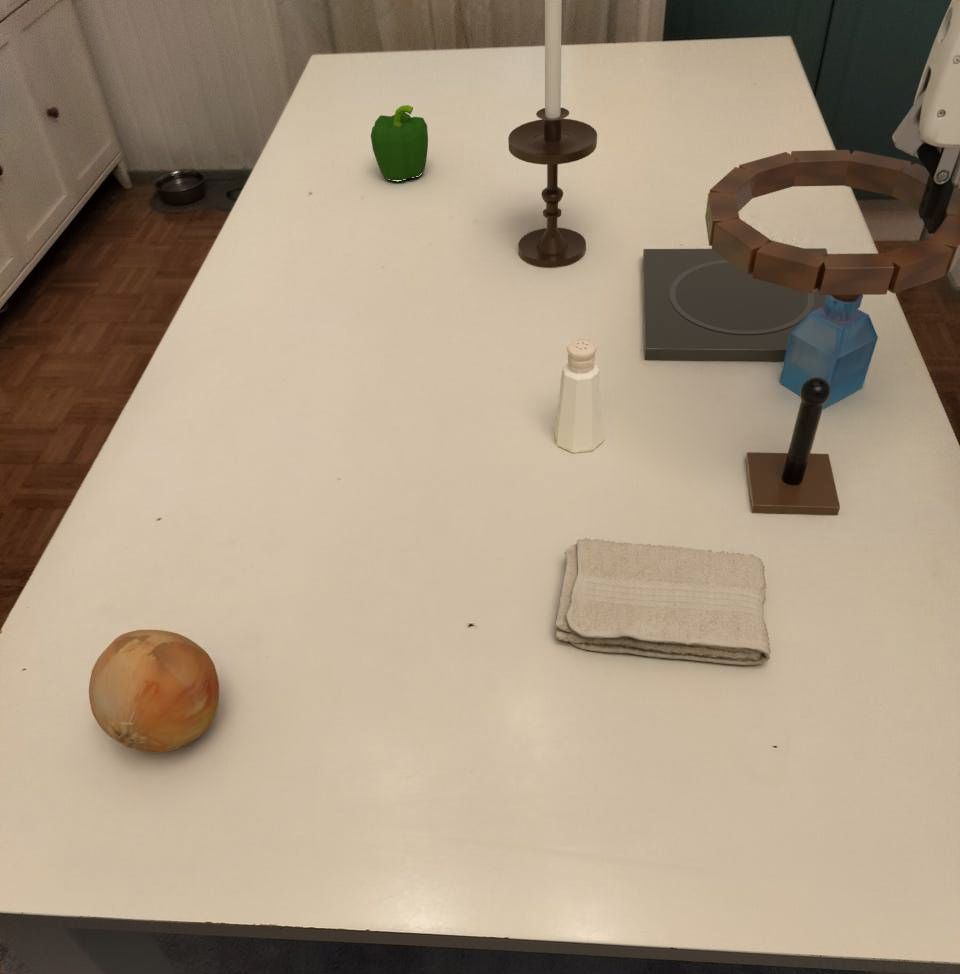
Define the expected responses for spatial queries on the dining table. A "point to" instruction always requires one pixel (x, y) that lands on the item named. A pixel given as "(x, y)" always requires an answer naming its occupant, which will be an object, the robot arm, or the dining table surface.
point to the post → (796, 465)
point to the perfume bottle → (831, 348)
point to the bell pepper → (400, 144)
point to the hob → (716, 309)
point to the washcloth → (664, 602)
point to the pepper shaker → (580, 401)
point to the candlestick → (552, 155)
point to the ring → (819, 269)
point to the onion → (154, 690)
